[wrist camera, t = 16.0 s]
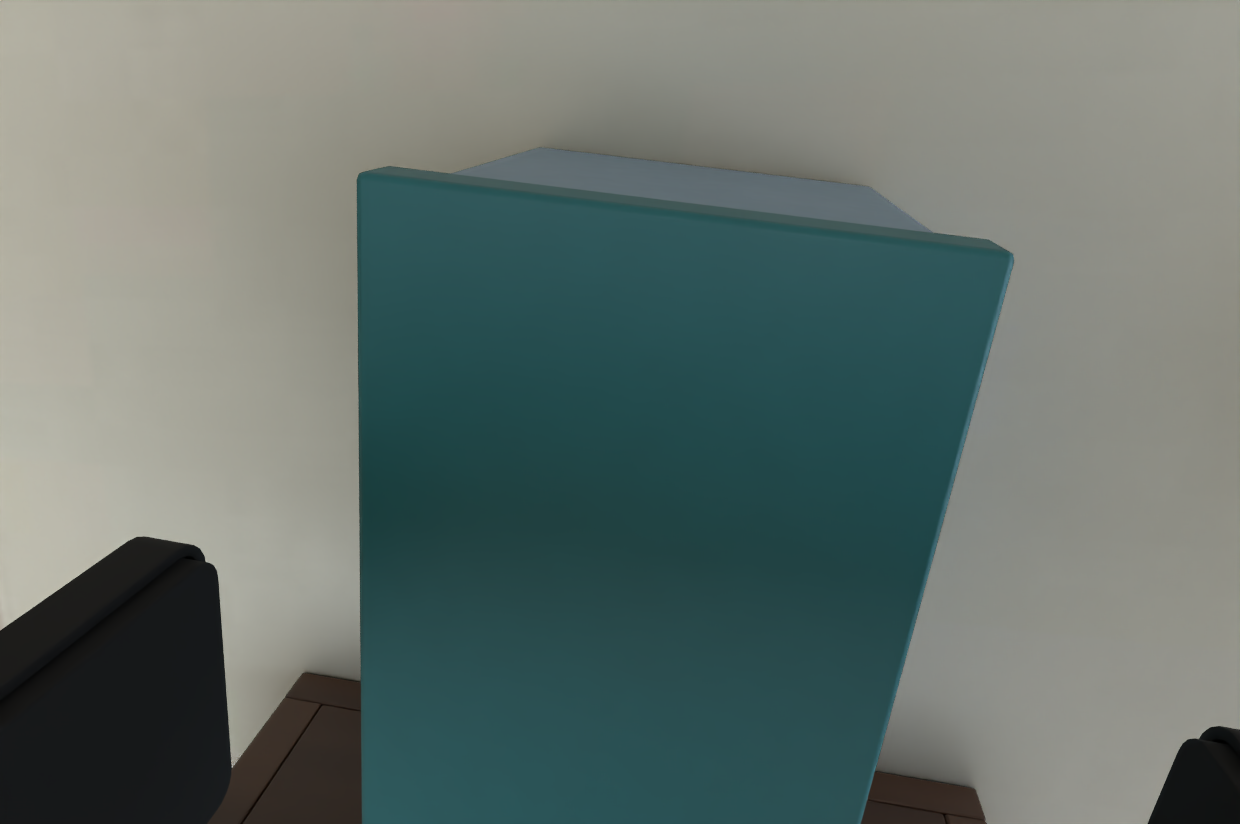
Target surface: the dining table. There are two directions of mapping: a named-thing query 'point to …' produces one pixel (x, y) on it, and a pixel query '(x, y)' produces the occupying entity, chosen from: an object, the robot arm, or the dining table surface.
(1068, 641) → the dining table surface
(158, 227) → the dining table surface
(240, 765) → the chest
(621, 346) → the container
